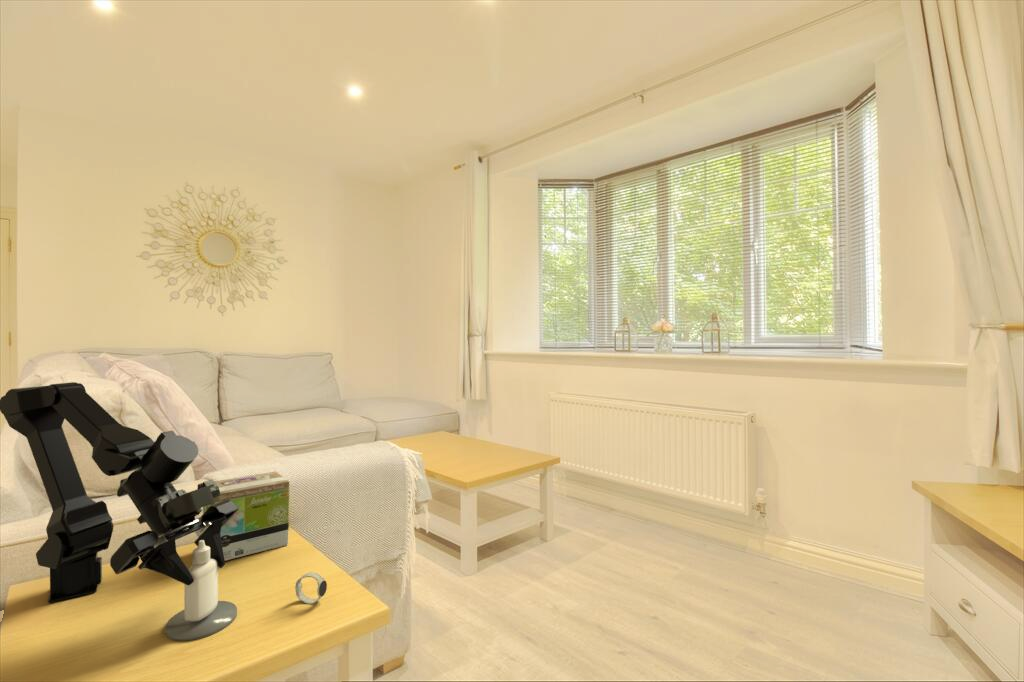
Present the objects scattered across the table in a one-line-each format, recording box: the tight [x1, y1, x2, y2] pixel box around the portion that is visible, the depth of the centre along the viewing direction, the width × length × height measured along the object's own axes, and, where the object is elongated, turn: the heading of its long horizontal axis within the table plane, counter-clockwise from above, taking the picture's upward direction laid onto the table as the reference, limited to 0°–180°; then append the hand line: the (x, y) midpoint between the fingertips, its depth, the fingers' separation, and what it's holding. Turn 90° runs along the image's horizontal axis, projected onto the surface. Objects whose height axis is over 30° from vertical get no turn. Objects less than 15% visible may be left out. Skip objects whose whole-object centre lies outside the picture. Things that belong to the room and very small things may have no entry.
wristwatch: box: [294, 571, 328, 605], centre depth 87 cm, size 3×5×5 cm, turn 81°
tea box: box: [202, 470, 290, 562], centre depth 107 cm, size 15×10×15 cm, turn 132°
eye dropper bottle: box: [183, 540, 219, 621], centre depth 80 cm, size 4×6×12 cm
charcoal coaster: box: [164, 600, 238, 642], centre depth 80 cm, size 10×10×1 cm
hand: (207, 574), depth 80 cm, fingers closed on eye dropper bottle, 5 cm apart
